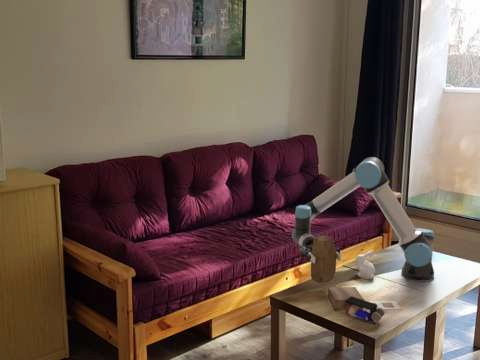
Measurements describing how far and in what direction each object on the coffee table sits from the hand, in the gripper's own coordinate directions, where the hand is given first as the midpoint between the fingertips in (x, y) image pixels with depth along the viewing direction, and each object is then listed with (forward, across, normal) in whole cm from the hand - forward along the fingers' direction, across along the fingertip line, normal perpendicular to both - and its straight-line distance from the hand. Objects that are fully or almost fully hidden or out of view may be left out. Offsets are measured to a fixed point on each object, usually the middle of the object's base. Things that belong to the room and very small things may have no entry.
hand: (327, 259), depth 255 cm
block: (-4, 0, -11) cm, 12 cm away
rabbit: (-16, -27, -16) cm, 35 cm away
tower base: (+12, -4, -16) cm, 20 cm away
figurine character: (+27, -5, -17) cm, 32 cm away
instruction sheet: (+17, -18, -16) cm, 29 cm away
